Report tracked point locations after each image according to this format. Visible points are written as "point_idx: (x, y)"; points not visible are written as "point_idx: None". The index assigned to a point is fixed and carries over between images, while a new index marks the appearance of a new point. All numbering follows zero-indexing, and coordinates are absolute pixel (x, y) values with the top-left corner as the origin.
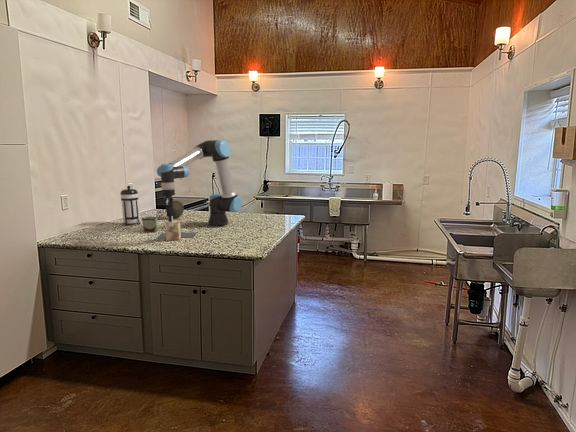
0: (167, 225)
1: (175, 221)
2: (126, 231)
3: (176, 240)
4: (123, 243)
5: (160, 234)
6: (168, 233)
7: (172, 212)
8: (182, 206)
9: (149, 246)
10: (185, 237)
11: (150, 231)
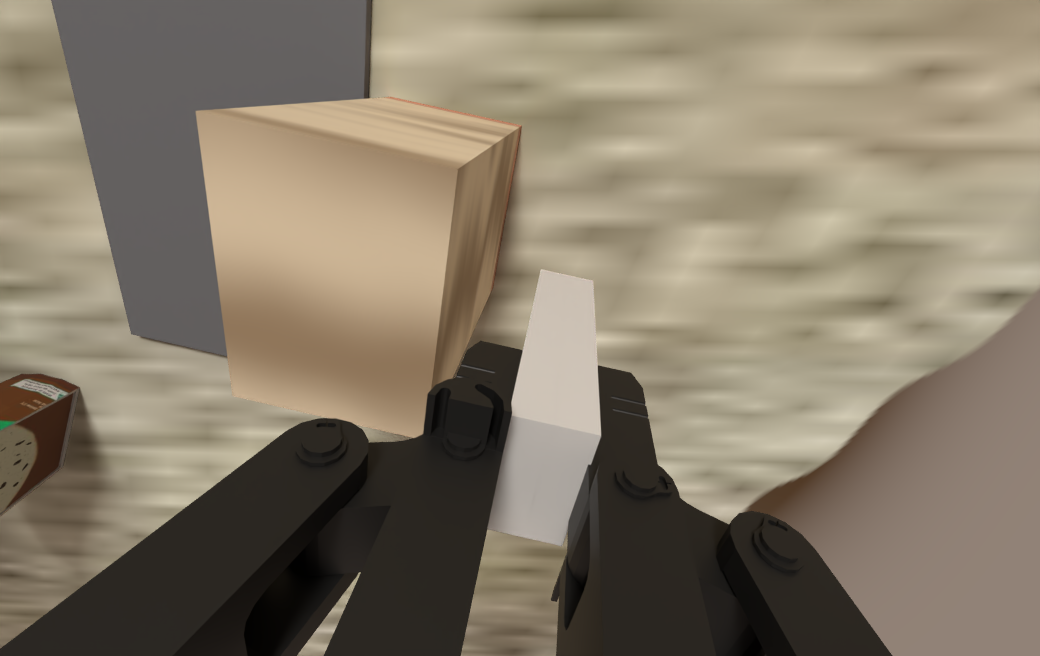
0: (445, 372)
1: (318, 232)
2: (75, 565)
3: (513, 164)
4: (480, 594)
5: (192, 346)
6: (478, 298)
7: (405, 510)
8: None
9: (684, 446)
10: (368, 18)
11: (64, 426)
